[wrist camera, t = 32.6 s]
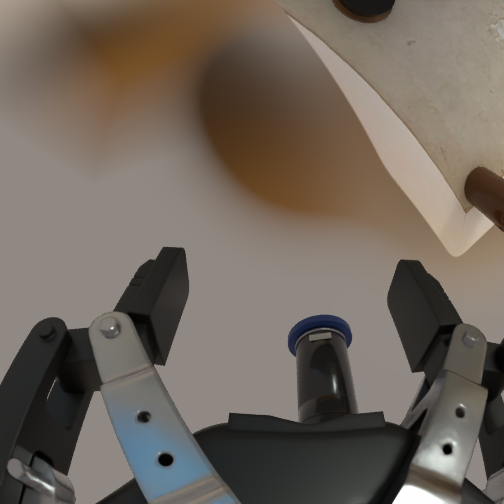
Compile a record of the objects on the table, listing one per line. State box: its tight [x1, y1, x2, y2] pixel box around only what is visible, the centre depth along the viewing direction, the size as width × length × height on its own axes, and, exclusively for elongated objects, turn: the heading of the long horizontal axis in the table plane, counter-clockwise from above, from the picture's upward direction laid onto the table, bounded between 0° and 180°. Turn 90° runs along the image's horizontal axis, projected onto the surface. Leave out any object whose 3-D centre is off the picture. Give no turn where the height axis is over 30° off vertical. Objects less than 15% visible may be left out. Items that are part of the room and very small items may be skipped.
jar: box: [465, 167, 504, 232], centre depth 29 cm, size 6×6×12 cm
